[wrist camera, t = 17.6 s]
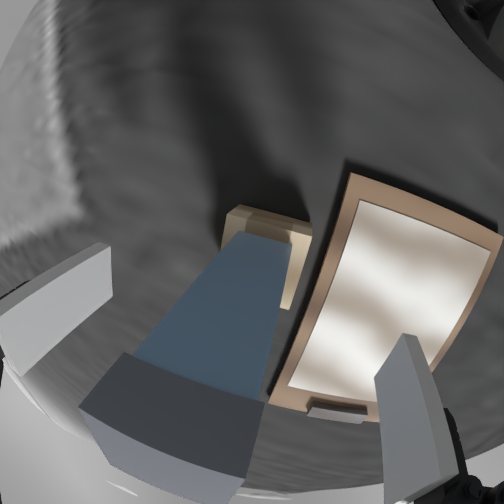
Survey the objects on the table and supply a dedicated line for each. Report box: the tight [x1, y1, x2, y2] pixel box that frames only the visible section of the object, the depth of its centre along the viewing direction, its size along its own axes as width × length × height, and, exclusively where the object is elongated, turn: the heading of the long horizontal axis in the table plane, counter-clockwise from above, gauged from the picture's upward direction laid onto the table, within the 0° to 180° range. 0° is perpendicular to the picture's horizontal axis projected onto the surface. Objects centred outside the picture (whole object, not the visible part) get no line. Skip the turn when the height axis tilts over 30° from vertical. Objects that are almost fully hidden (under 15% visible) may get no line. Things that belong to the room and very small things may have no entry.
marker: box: [78, 231, 292, 504], centre depth 11 cm, size 4×4×14 cm
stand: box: [220, 204, 312, 310], centre depth 18 cm, size 5×5×3 cm
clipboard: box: [268, 172, 503, 424], centre depth 19 cm, size 22×14×1 cm, turn 168°
